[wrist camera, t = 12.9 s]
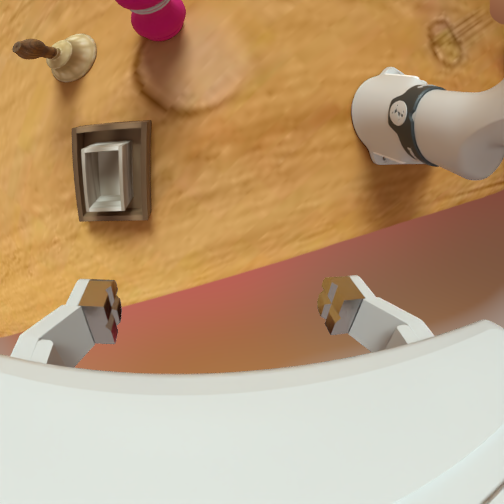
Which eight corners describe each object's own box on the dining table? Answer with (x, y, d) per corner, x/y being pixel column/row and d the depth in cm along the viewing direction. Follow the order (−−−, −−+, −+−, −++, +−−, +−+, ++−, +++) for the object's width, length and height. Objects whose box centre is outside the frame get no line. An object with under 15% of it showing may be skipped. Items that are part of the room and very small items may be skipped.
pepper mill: (158, 53, 30) (124, 14, 14) (128, 26, 27) (80, -21, 10) (196, 23, 29) (197, -36, 12) (167, -4, 26) (147, -69, 9)
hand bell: (70, 92, 30) (13, 94, 17) (43, 65, 26) (-16, 61, 12) (106, 51, 28) (61, 30, 15) (77, 25, 24) (27, 1, 11)
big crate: (151, 120, 36) (146, 121, 33) (151, 211, 43) (147, 220, 40) (81, 126, 33) (71, 128, 30) (86, 212, 40) (79, 221, 37)
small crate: (132, 140, 36) (121, 146, 31) (133, 196, 40) (124, 210, 35) (95, 142, 35) (81, 149, 30) (99, 197, 39) (86, 211, 34)
